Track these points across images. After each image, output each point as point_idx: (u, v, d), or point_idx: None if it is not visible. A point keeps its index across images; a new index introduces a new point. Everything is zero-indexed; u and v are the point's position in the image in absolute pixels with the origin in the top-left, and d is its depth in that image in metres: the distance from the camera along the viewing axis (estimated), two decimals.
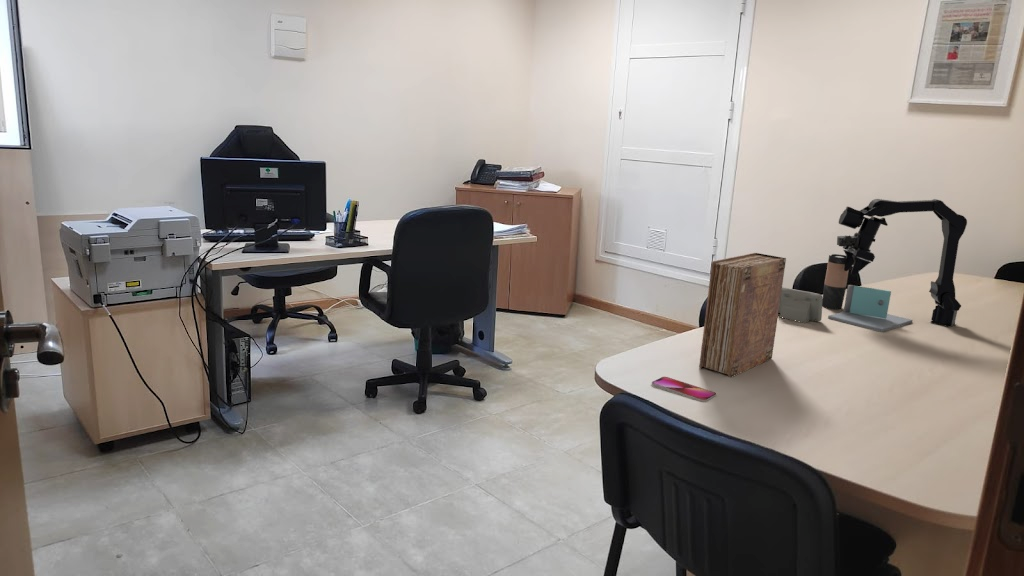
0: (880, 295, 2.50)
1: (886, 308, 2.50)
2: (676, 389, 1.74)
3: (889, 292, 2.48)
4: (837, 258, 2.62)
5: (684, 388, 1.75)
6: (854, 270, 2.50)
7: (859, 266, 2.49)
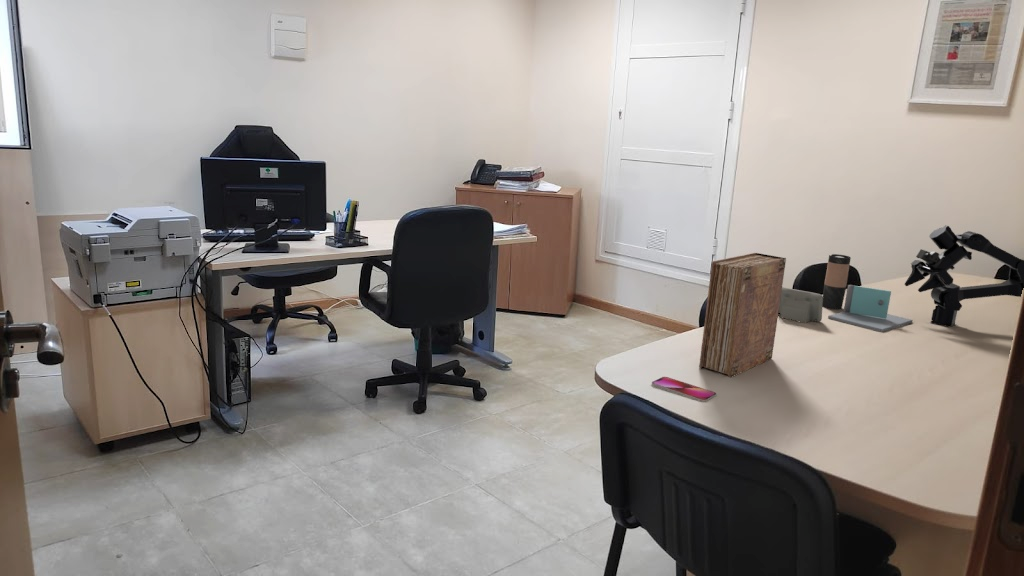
0: (880, 295, 2.50)
1: (886, 308, 2.50)
2: (676, 389, 1.74)
3: (889, 292, 2.48)
4: (837, 258, 2.62)
5: (684, 388, 1.75)
6: (924, 287, 2.45)
7: (931, 285, 2.44)
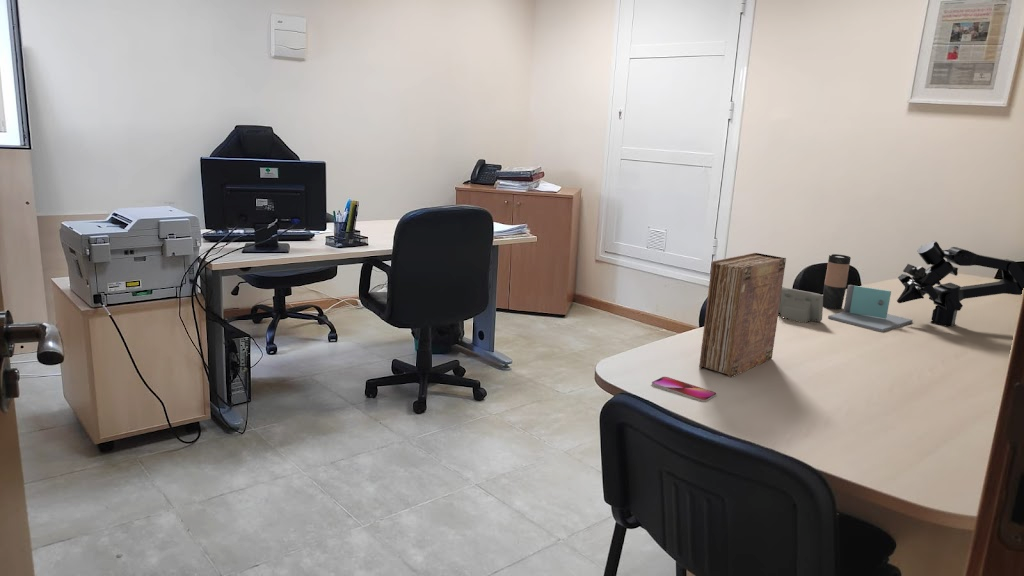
0: (880, 295, 2.50)
1: (886, 308, 2.50)
2: (676, 389, 1.74)
3: (889, 292, 2.48)
4: (837, 258, 2.62)
5: (684, 388, 1.75)
6: (904, 298, 2.50)
7: (910, 297, 2.50)
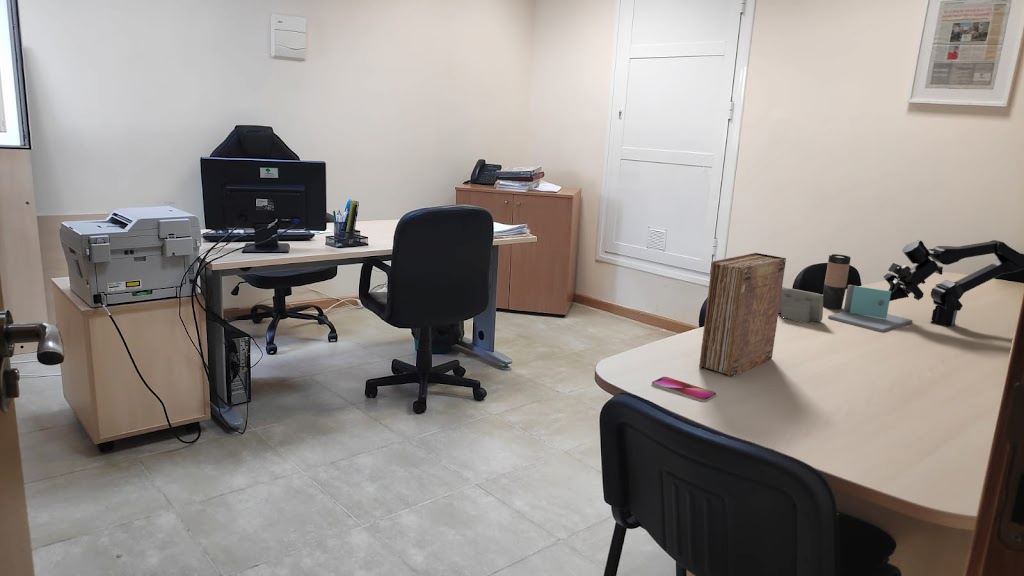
0: (880, 295, 2.50)
1: (886, 308, 2.50)
2: (676, 389, 1.74)
3: (889, 292, 2.48)
4: (837, 258, 2.62)
5: (684, 388, 1.75)
6: None
7: (895, 296, 2.50)
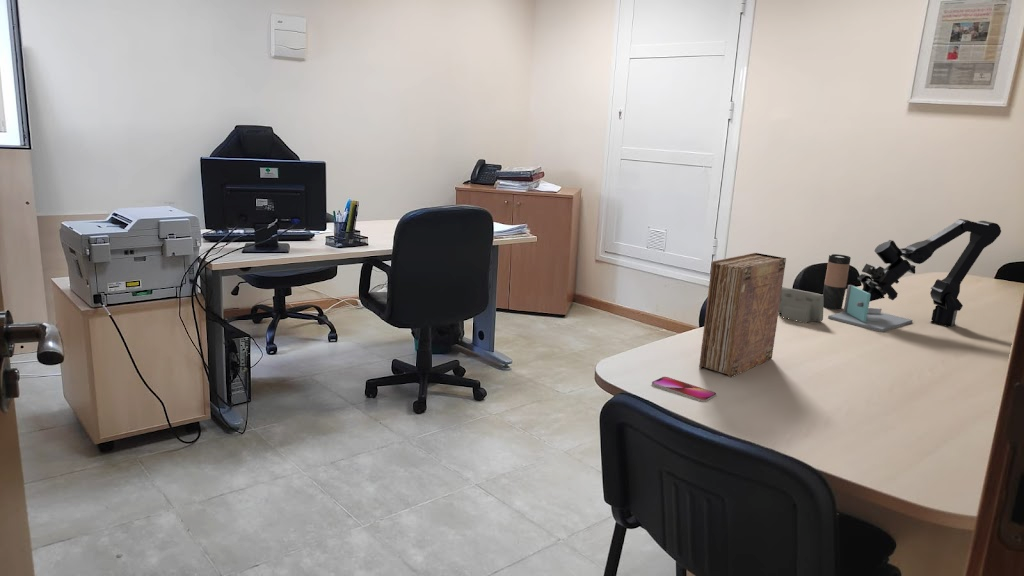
0: (862, 296, 2.46)
1: (864, 311, 2.44)
2: (676, 389, 1.74)
3: (867, 294, 2.43)
4: (837, 258, 2.62)
5: (684, 388, 1.75)
6: None
7: (871, 297, 2.48)
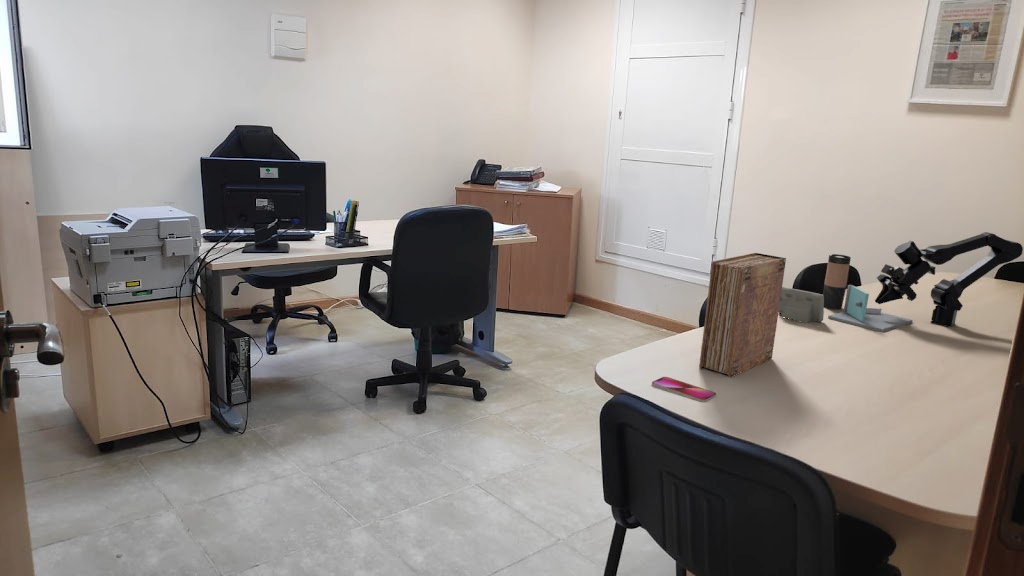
0: (861, 296, 2.46)
1: (862, 311, 2.44)
2: (676, 389, 1.74)
3: (865, 294, 2.43)
4: (837, 258, 2.62)
5: (684, 388, 1.75)
6: (883, 299, 2.50)
7: (889, 297, 2.49)
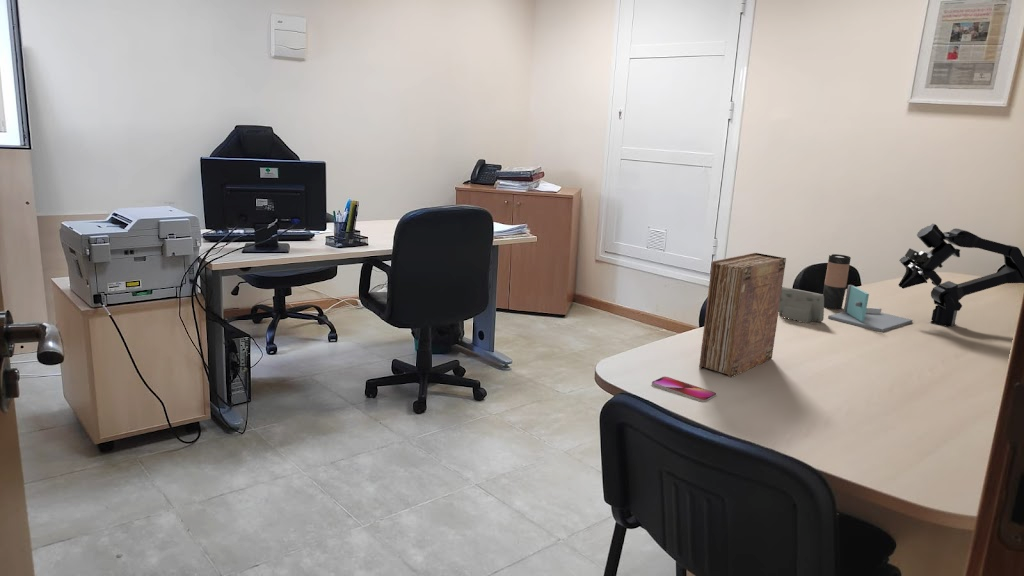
0: (861, 296, 2.46)
1: (862, 311, 2.44)
2: (676, 389, 1.74)
3: (865, 294, 2.43)
4: (837, 258, 2.62)
5: (684, 388, 1.75)
6: (907, 283, 2.49)
7: (914, 282, 2.49)
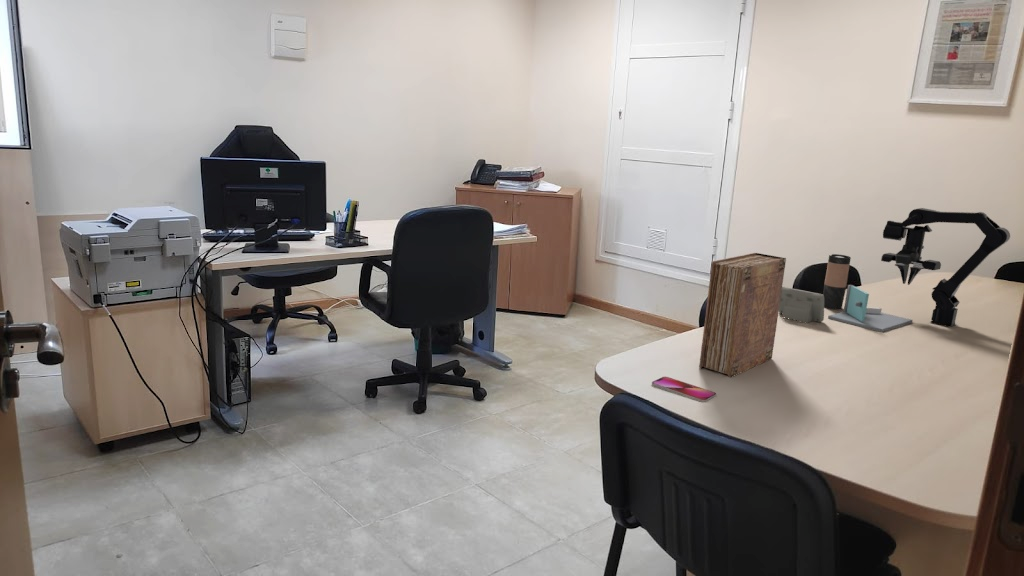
0: (861, 296, 2.46)
1: (862, 311, 2.44)
2: (676, 389, 1.74)
3: (865, 294, 2.43)
4: (837, 258, 2.62)
5: (684, 388, 1.75)
6: (911, 279, 2.58)
7: (914, 274, 2.57)
